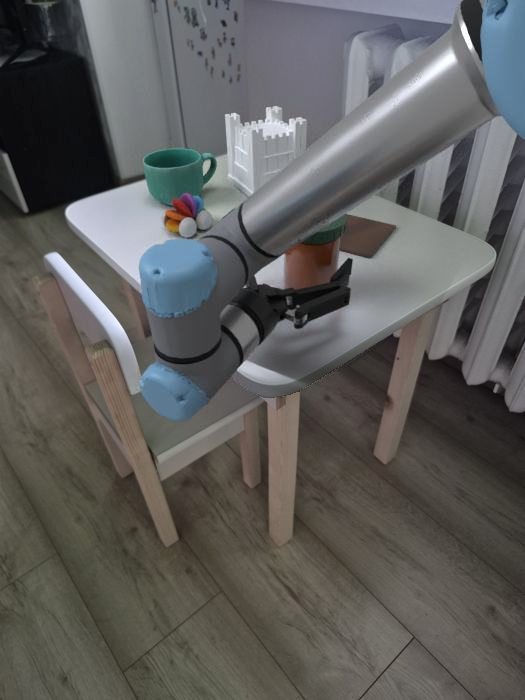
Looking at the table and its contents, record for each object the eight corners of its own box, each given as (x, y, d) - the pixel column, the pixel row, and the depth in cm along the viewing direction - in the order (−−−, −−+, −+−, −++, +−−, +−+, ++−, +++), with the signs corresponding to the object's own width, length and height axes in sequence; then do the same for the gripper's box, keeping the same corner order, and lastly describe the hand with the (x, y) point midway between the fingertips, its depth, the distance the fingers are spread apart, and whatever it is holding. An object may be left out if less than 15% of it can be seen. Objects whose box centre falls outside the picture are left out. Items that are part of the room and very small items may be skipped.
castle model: (253, 200, 109) (251, 131, 99) (227, 179, 118) (222, 114, 108) (306, 187, 114) (309, 120, 104) (277, 168, 123) (277, 105, 113)
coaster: (395, 228, 97) (396, 225, 97) (370, 258, 88) (370, 255, 88) (332, 213, 103) (333, 210, 103) (302, 240, 94) (303, 238, 94)
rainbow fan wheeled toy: (156, 230, 98) (150, 196, 94) (193, 214, 104) (189, 181, 99) (183, 244, 94) (178, 209, 89) (219, 226, 99) (216, 193, 94)
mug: (158, 215, 104) (150, 172, 97) (144, 194, 112) (136, 153, 106) (229, 201, 109) (226, 158, 102) (210, 182, 117) (206, 141, 111)
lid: (327, 250, 68) (328, 238, 67) (268, 233, 72) (267, 221, 71) (356, 222, 74) (357, 211, 73) (299, 208, 79) (300, 197, 77)
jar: (343, 285, 82) (351, 216, 74) (321, 312, 76) (327, 240, 68) (298, 272, 85) (300, 204, 77) (273, 296, 80) (273, 226, 72)
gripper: (167, 321, 70) (245, 256, 84) (322, 380, 60) (381, 296, 74) (159, 277, 65) (243, 216, 79) (326, 334, 55) (389, 253, 69)
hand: (310, 255), depth 76 cm, fingers open, 13 cm apart
